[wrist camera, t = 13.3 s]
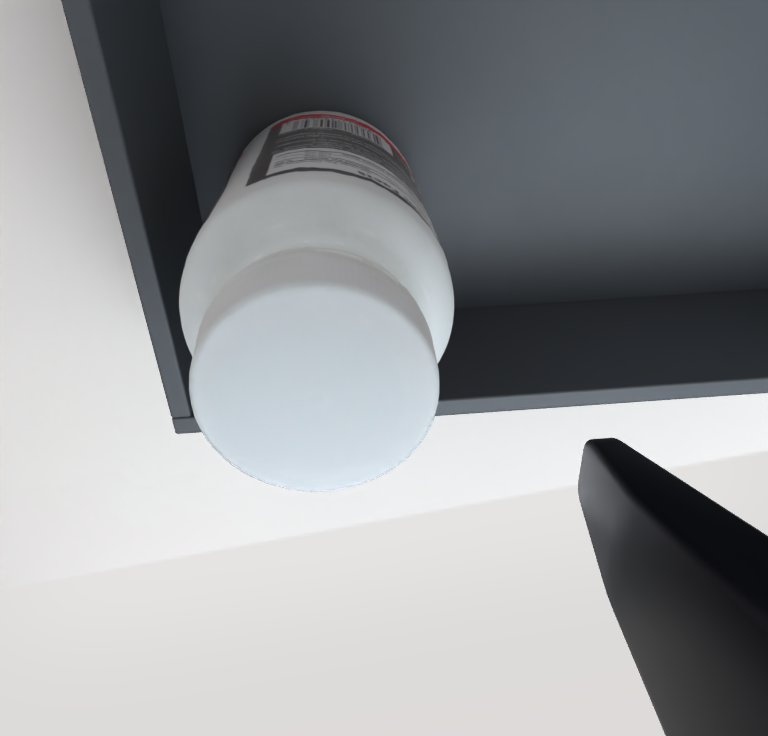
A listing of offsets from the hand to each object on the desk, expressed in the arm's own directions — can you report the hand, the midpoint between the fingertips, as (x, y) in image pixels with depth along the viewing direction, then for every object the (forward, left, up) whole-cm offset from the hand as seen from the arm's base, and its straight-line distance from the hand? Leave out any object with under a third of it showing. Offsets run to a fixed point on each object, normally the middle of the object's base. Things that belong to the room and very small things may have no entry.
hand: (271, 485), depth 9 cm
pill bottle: (+1, -1, -11) cm, 11 cm away
